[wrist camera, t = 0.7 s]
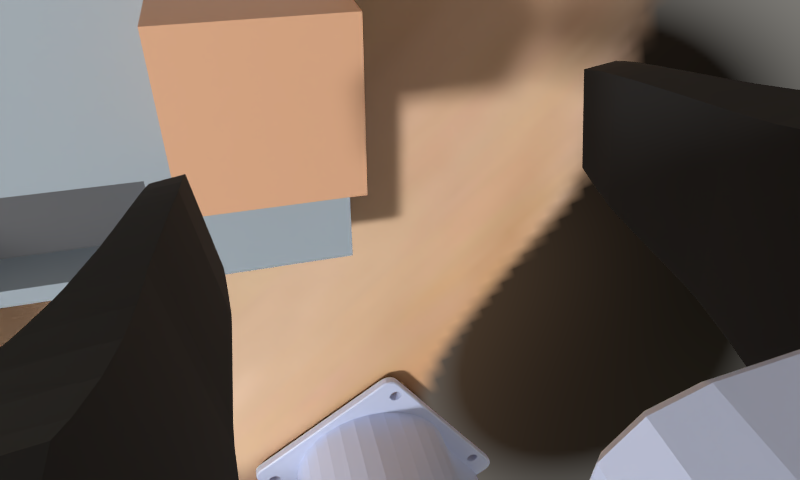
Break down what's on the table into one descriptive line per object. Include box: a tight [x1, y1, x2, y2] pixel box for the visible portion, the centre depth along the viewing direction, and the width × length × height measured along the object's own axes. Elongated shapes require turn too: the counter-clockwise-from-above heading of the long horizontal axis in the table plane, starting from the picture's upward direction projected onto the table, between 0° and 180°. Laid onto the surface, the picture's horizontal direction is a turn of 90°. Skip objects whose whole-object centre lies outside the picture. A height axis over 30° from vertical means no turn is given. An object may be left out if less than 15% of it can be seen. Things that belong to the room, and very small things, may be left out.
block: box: [138, 0, 367, 216], centre depth 16 cm, size 4×4×4 cm
